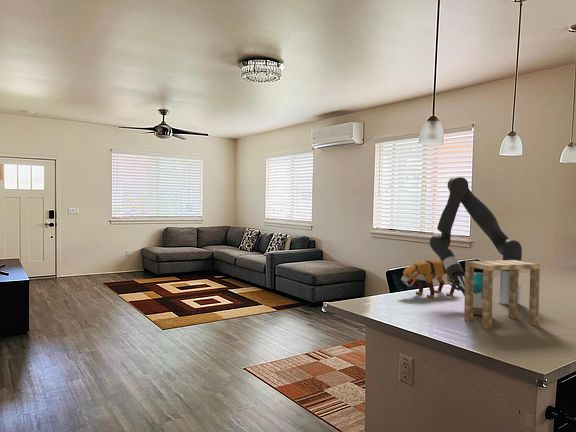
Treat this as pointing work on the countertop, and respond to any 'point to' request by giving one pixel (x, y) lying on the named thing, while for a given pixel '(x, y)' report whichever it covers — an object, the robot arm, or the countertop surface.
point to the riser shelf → (513, 289)
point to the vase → (478, 294)
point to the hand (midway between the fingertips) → (468, 296)
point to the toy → (426, 276)
